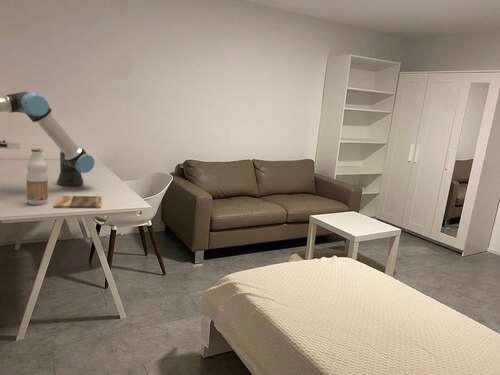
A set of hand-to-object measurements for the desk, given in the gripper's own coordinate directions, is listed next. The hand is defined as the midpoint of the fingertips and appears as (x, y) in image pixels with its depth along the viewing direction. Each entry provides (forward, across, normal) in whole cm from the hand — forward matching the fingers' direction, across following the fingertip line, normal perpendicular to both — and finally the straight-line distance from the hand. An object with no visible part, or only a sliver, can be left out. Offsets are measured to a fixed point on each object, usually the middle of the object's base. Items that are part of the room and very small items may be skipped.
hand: (17, 146), depth 188 cm
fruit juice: (+11, -2, -28) cm, 30 cm away
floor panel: (+31, 0, -26) cm, 40 cm away
